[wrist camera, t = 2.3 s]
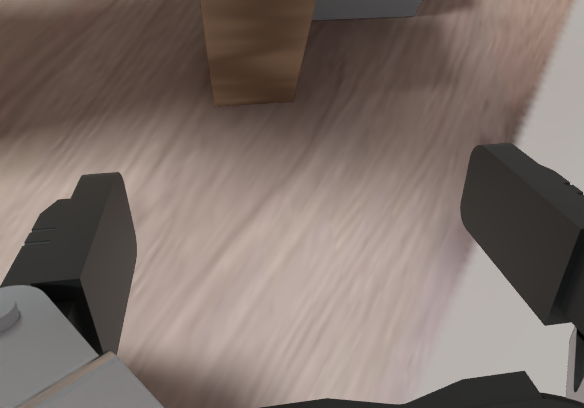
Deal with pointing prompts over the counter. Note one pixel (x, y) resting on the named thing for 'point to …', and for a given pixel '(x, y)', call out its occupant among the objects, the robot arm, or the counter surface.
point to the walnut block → (255, 48)
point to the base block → (364, 9)
